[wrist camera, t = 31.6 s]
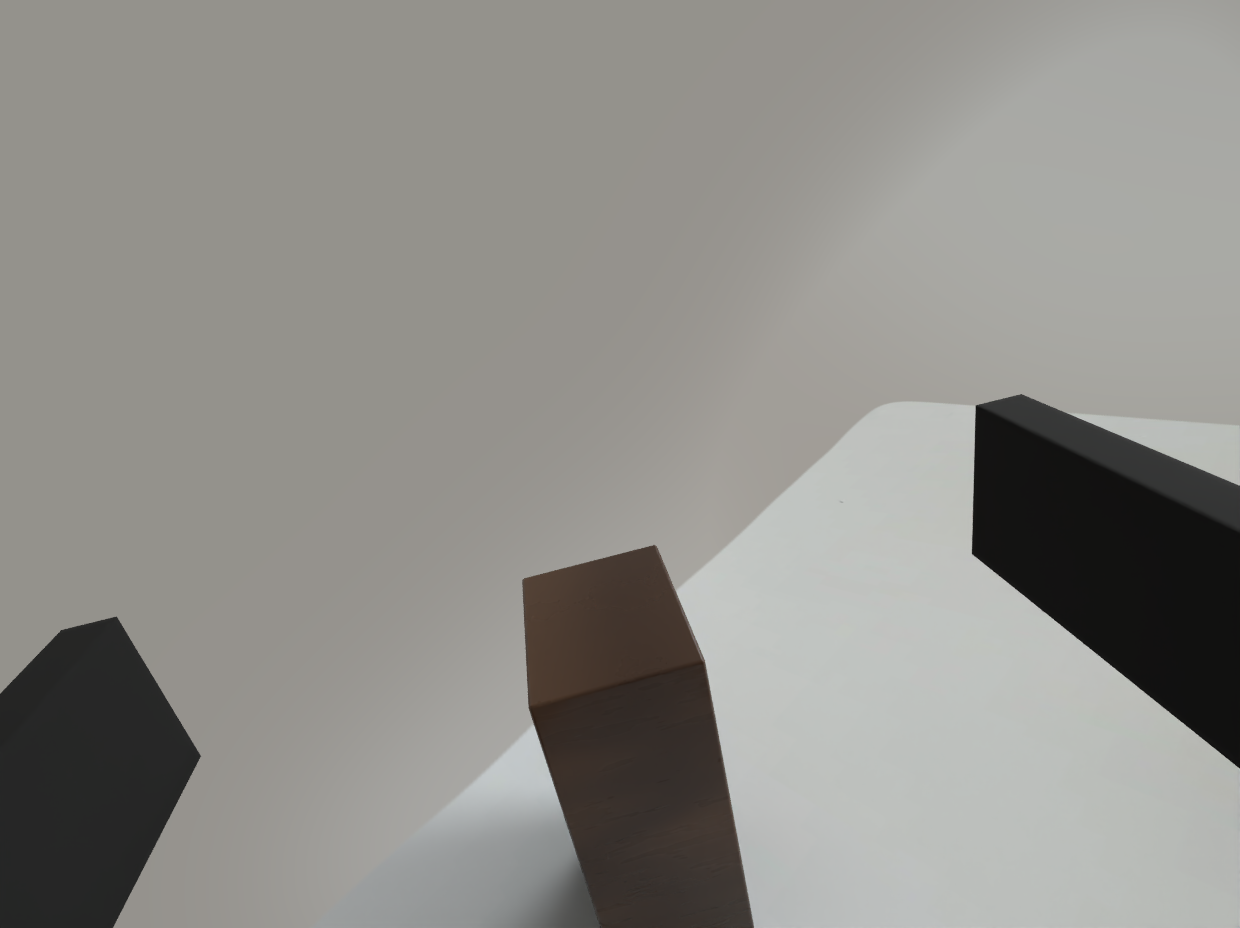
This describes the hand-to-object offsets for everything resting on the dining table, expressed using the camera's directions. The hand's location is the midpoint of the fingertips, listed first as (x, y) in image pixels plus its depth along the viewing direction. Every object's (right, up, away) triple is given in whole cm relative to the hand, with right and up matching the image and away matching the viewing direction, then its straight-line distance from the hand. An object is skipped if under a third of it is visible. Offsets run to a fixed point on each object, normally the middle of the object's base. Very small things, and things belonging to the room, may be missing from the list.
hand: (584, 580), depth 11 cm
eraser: (+2, -13, +14) cm, 19 cm away
